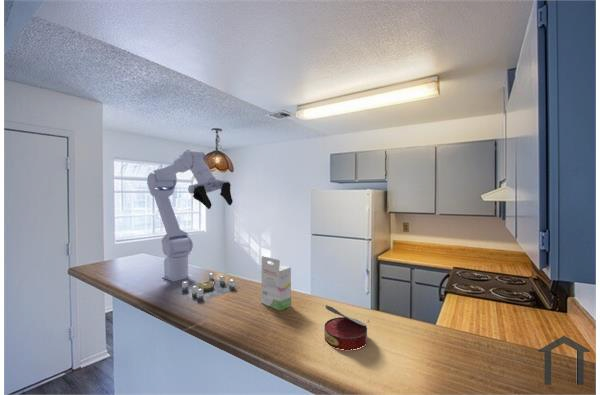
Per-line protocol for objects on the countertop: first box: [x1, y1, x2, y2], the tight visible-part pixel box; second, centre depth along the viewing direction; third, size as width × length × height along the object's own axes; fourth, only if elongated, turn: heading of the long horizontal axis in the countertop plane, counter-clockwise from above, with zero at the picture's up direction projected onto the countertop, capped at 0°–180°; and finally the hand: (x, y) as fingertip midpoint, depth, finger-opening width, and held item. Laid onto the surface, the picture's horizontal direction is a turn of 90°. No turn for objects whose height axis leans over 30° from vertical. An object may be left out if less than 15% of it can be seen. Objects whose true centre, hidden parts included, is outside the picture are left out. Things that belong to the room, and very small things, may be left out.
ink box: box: [260, 255, 292, 312], centre depth 86 cm, size 9×5×15 cm, turn 47°
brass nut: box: [198, 280, 214, 291], centre depth 98 cm, size 5×5×2 cm
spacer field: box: [174, 272, 241, 303], centre depth 98 cm, size 15×16×4 cm
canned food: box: [324, 304, 368, 351], centre depth 67 cm, size 11×10×10 cm
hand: (220, 205), depth 93 cm, fingers open, 7 cm apart
